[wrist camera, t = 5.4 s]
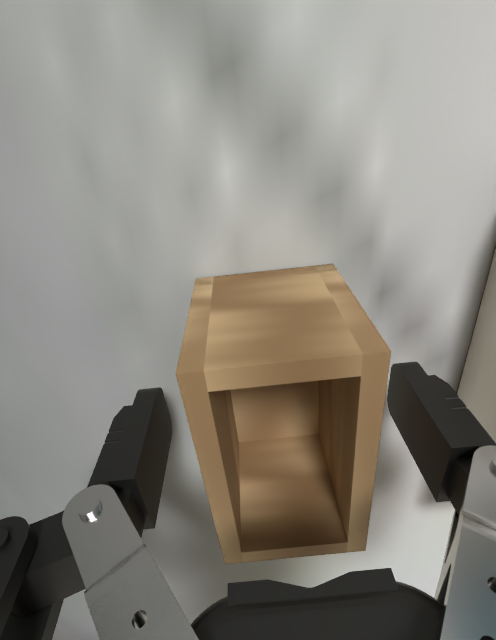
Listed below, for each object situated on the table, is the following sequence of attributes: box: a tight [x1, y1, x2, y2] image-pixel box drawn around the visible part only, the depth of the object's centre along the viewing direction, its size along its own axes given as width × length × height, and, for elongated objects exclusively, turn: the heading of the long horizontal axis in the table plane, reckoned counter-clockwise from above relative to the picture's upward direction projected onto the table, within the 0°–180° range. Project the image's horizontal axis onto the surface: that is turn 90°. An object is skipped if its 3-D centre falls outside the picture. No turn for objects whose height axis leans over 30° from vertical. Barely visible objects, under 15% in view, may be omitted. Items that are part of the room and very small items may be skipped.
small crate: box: [176, 264, 391, 564], centre depth 12 cm, size 5×8×5 cm, turn 6°
